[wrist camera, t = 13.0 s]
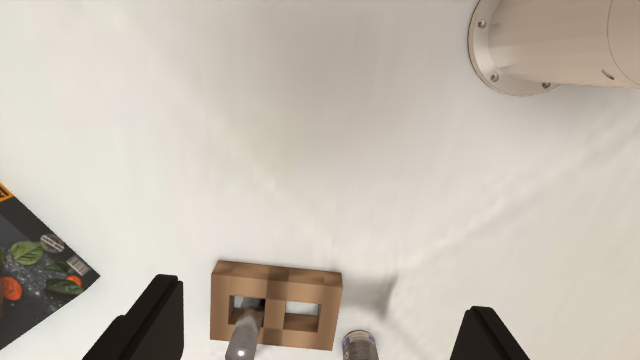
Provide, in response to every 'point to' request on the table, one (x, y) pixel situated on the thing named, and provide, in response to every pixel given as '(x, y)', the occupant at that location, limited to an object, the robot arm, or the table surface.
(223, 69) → the table surface
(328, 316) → the hole block
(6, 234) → the pizza box
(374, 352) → the pill bottle
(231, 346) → the peg
